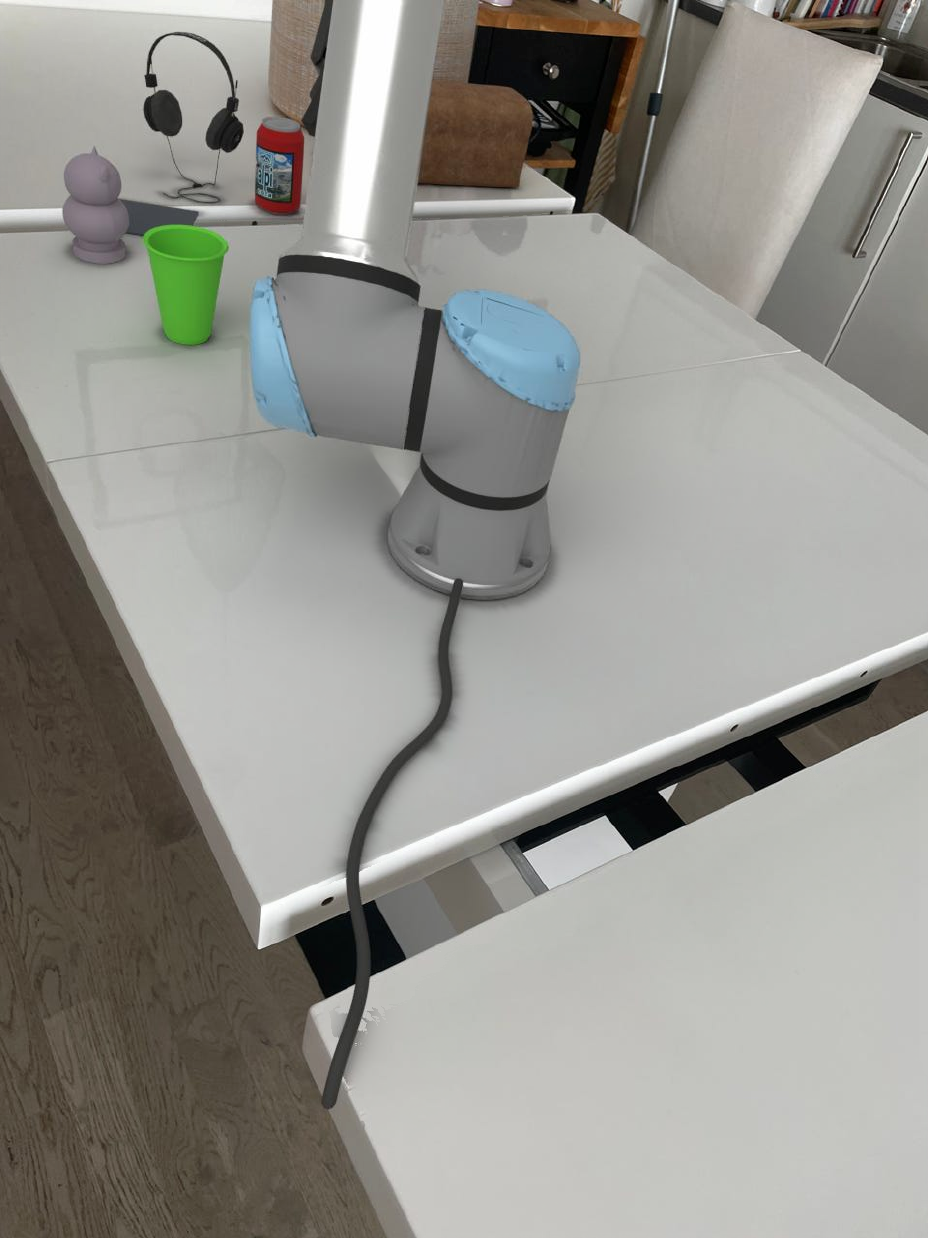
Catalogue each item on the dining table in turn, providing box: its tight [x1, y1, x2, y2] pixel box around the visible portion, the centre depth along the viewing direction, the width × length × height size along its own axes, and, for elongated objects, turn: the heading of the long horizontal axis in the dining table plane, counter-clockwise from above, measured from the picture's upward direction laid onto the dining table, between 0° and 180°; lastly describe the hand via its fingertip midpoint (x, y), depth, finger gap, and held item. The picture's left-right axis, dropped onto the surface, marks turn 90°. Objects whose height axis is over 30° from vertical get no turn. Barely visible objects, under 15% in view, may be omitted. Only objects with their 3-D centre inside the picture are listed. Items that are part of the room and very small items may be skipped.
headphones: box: [142, 31, 245, 204], centre depth 141 cm, size 15×11×20 cm
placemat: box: [118, 198, 200, 236], centre depth 136 cm, size 11×11×1 cm
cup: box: [141, 225, 230, 346], centre depth 110 cm, size 9×9×11 cm
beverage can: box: [254, 116, 305, 216], centre depth 143 cm, size 7×7×12 cm
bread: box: [417, 80, 534, 188], centre depth 166 cm, size 14×34×14 cm, turn 111°
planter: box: [267, 0, 480, 128], centre depth 177 cm, size 37×37×32 cm
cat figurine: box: [61, 145, 129, 265], centre depth 122 cm, size 8×8×12 cm
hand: (310, 129), depth 114 cm, fingers closed
